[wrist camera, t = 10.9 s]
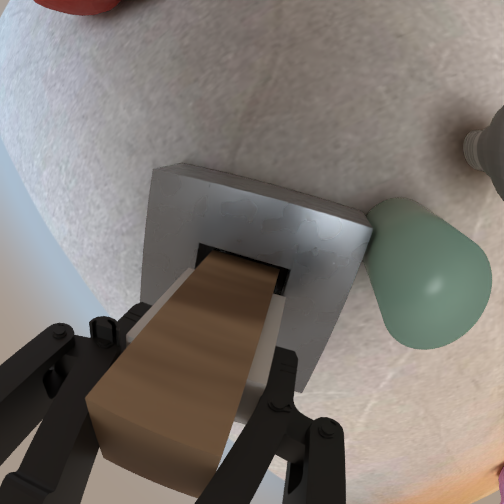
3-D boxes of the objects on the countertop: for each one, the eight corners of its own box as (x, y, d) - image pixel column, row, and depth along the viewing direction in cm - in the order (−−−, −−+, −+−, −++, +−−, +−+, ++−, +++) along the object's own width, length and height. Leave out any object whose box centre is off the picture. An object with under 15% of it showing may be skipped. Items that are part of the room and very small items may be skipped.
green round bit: (373, 186, 18) (412, 216, 10) (446, 213, 17) (509, 257, 10) (347, 265, 20) (361, 336, 12) (416, 286, 19) (456, 357, 12)
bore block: (182, 162, 19) (153, 168, 16) (361, 211, 18) (373, 228, 15) (162, 311, 24) (139, 339, 20) (305, 357, 23) (301, 393, 19)
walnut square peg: (213, 249, 18) (84, 397, 7) (279, 269, 17) (221, 456, 6) (202, 306, 19) (103, 457, 8) (262, 324, 19) (204, 500, 8)
